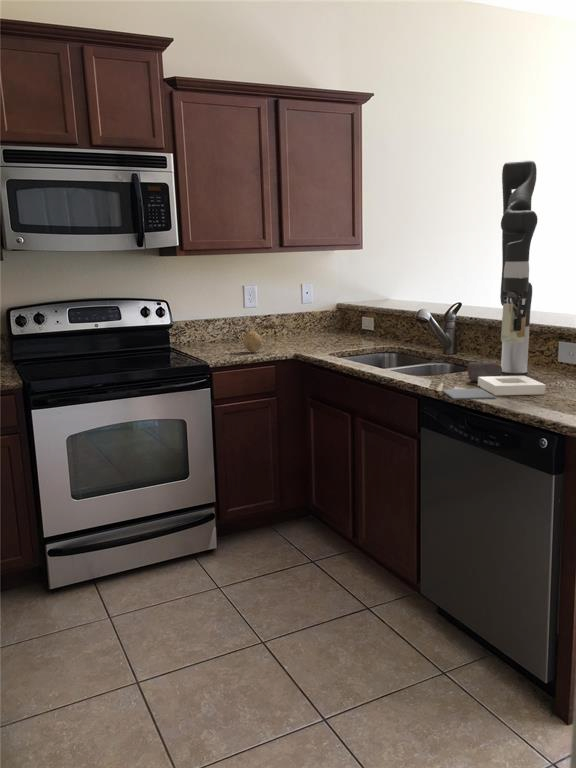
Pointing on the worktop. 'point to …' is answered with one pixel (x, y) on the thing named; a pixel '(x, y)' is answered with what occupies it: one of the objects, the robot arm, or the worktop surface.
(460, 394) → the mat
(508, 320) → the skincare box
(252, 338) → the natural sponge
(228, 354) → the worktop surface
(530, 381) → the holder
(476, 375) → the perforated stone tool
